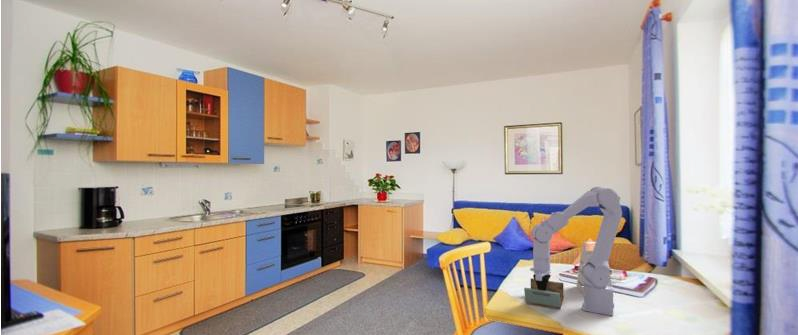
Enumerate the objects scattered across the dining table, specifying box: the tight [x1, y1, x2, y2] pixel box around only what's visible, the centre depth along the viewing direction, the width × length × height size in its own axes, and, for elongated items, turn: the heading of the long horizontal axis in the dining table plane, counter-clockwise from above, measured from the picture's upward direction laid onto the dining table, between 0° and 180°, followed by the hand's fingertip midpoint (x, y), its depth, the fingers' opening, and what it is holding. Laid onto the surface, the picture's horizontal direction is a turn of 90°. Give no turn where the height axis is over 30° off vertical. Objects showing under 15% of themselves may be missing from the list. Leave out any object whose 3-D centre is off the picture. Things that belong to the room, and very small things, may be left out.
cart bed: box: [525, 277, 565, 310], centre depth 139 cm, size 12×10×6 cm
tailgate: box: [523, 287, 560, 307], centre depth 133 cm, size 12×1×6 cm, turn 60°
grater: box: [576, 241, 613, 294], centre depth 149 cm, size 10×10×20 cm
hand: (542, 294), depth 133 cm, fingers closed, pressing on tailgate
